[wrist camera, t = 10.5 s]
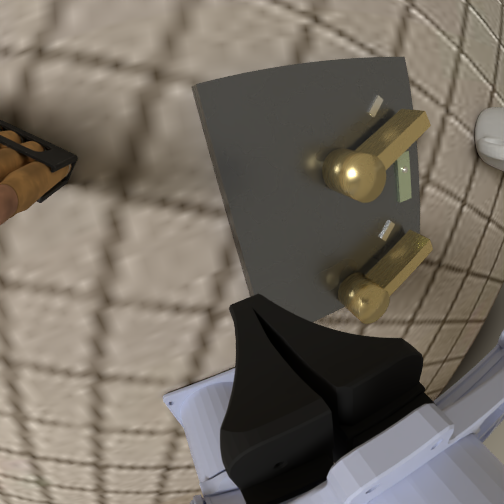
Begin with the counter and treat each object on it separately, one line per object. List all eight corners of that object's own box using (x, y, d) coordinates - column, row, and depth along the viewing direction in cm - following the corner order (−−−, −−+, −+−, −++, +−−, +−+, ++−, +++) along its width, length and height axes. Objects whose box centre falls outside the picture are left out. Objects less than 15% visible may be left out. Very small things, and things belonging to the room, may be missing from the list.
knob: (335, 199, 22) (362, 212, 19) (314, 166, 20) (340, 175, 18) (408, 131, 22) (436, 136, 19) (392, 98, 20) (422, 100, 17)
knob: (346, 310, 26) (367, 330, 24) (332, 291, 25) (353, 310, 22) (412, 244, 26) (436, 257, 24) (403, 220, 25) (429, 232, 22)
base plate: (408, 260, 29) (422, 269, 28) (260, 331, 26) (270, 346, 24) (391, 57, 20) (409, 56, 19) (191, 87, 17) (198, 83, 15)
